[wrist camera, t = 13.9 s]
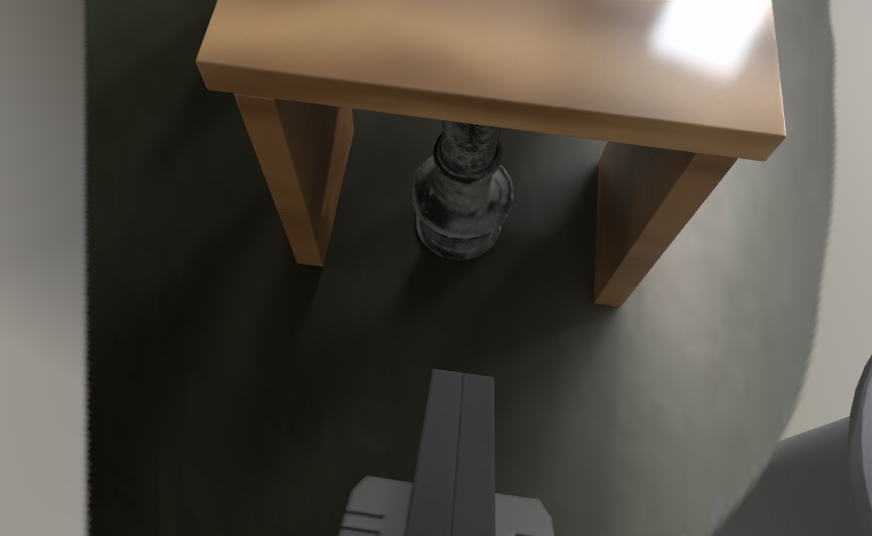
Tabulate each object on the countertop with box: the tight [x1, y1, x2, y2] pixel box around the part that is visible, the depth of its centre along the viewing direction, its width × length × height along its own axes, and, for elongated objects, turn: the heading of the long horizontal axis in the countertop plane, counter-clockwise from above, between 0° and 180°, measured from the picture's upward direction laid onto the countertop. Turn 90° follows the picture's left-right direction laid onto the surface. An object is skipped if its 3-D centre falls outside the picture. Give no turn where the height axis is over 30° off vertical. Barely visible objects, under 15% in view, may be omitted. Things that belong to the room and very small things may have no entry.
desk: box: [196, 0, 786, 307], centre depth 33 cm, size 10×21×17 cm, turn 82°
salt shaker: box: [411, 120, 514, 261], centre depth 35 cm, size 6×6×12 cm
